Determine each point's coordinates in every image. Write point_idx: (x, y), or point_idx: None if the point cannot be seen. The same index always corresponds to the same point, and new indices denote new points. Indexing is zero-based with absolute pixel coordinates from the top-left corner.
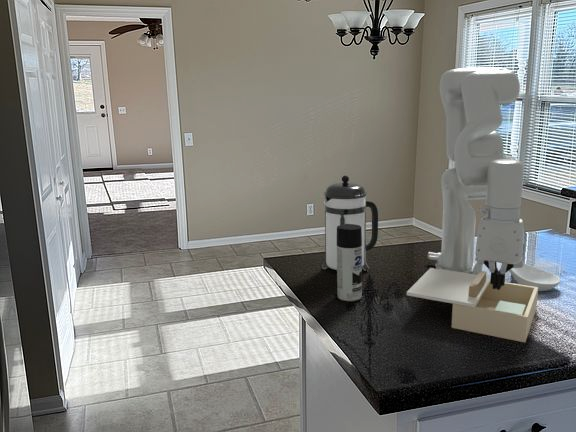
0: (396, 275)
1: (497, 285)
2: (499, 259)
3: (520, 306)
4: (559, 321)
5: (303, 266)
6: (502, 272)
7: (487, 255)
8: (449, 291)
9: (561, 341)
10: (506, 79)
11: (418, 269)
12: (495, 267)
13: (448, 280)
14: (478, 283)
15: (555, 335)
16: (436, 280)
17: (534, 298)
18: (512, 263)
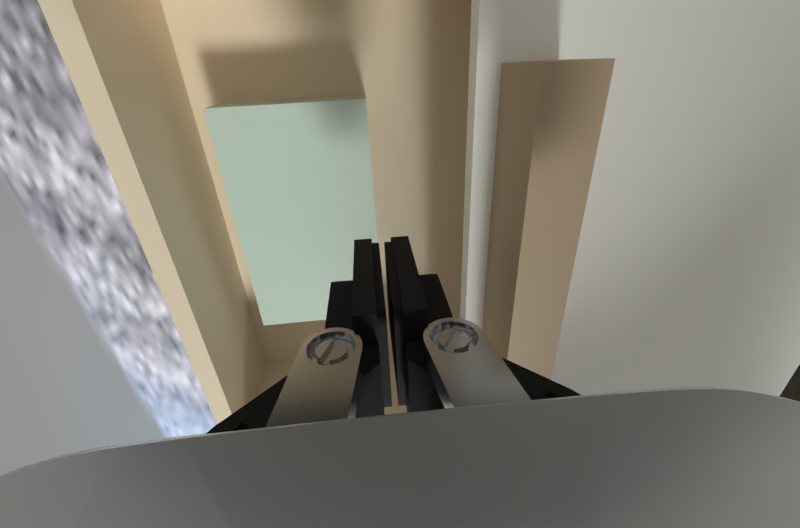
0: (789, 390)
1: (371, 251)
2: (357, 467)
3: (276, 296)
4: (137, 310)
5: None
6: (336, 347)
7: (681, 499)
8: (707, 90)
9: (4, 96)
10: None
11: None
12: (432, 404)
13: (693, 292)
14: (529, 185)
15: (69, 156)
16: (770, 257)
17: (180, 326)
18: (82, 452)
